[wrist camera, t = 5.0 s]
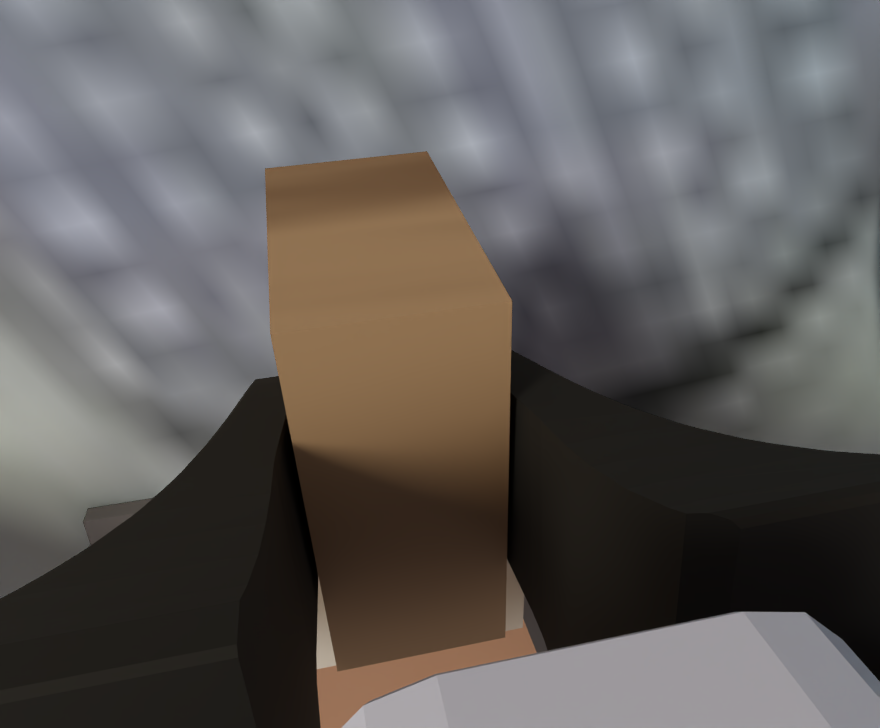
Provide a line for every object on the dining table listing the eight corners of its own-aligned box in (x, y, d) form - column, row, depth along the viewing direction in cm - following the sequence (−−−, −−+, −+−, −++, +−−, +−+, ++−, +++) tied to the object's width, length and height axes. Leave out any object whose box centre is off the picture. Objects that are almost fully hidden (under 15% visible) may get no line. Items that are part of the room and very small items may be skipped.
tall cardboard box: (153, 180, 12) (99, 358, 8) (527, 140, 12) (658, 280, 8) (278, 648, 18) (285, 871, 14) (513, 601, 19) (582, 800, 15)
